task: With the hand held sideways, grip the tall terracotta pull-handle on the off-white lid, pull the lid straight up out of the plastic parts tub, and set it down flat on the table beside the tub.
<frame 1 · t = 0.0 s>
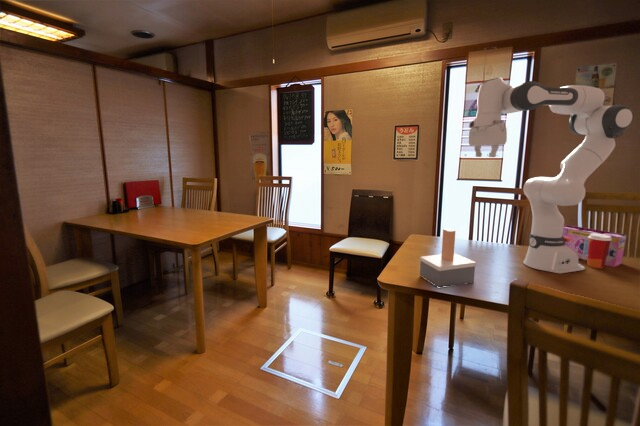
hand: (485, 157, 127), 48 cm above the table, tool pointing down, fingers open, 8 cm apart
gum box: (587, 258, 147), on the table
parts tub: (446, 279, 125), on the table
lid: (446, 266, 124), point 5 cm above the table, touching parts tub
paper cup: (595, 266, 137), on the table
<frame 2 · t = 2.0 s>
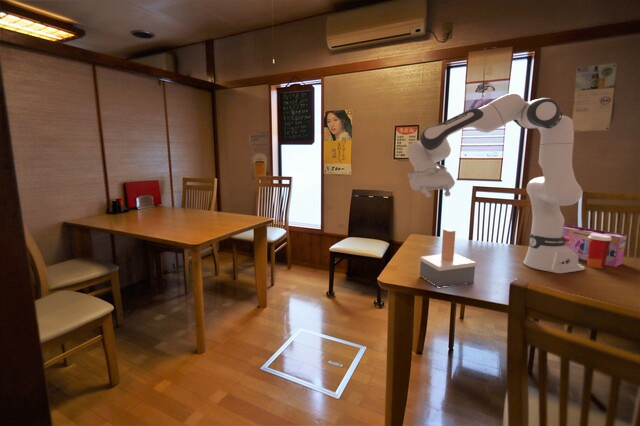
hand: (438, 196, 132), 32 cm above the table, tool tilted 45°, fingers open, 8 cm apart
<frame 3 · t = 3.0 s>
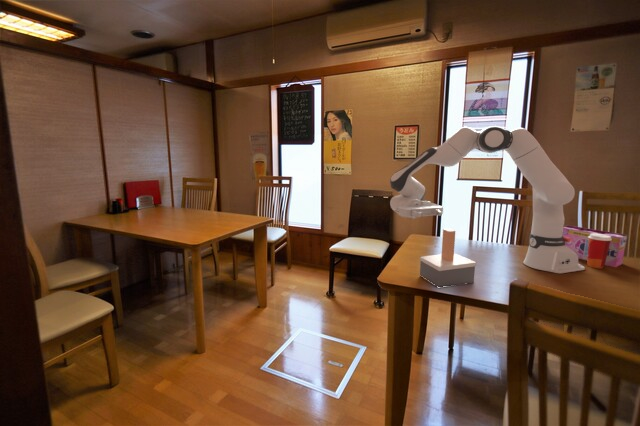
hand: (430, 214, 132), 24 cm above the table, tool horizontal, fingers open, 8 cm apart
nothing on the table moved.
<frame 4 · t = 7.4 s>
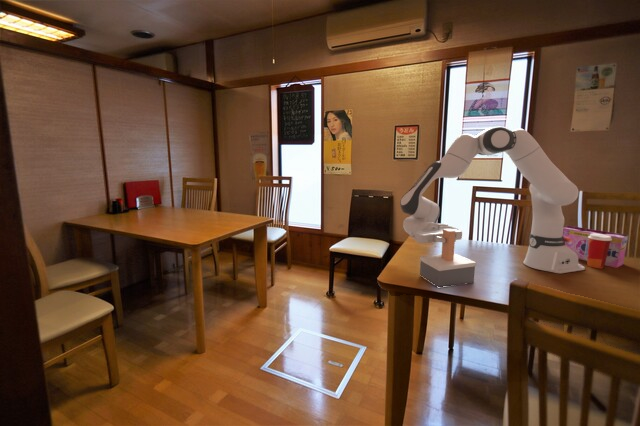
hand: (450, 240, 121), 17 cm above the table, tool horizontal, fingers closed on lid, 2 cm apart
lid: (446, 266, 124), point 5 cm above the table, touching gripper, parts tub
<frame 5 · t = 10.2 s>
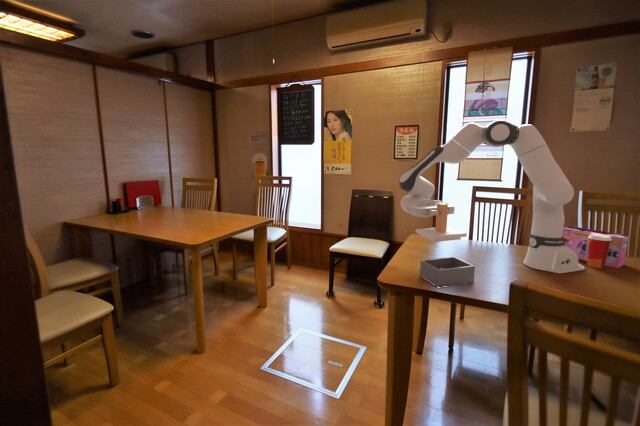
hand: (443, 213, 133), 25 cm above the table, tool horizontal, fingers closed on lid, 2 cm apart
lid: (440, 237, 136), point 14 cm above the table, touching gripper
when the fingers open (12 cm above the table, at t = 13.5 s): lid drops 2 cm, on the table.
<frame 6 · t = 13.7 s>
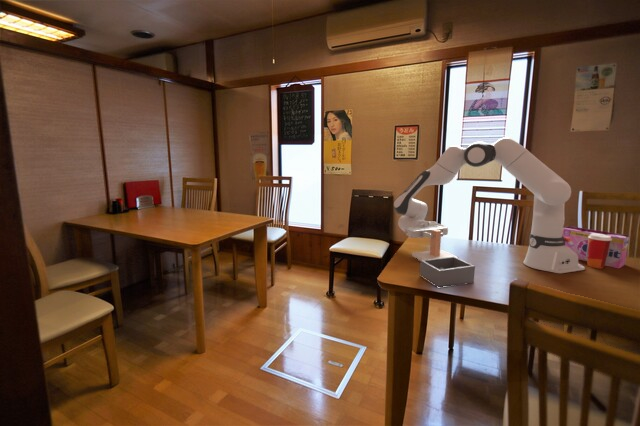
hand: (437, 235, 144), 12 cm above the table, tool horizontal, fingers open, 4 cm apart
lid: (434, 261, 147), on the table
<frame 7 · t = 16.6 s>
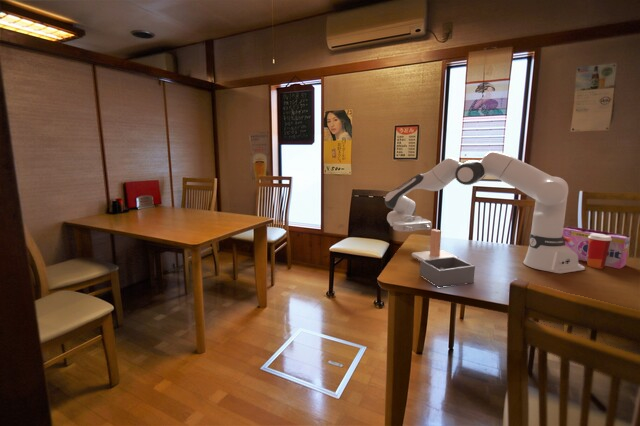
hand: (420, 228, 156), 13 cm above the table, tool horizontal, fingers open, 8 cm apart
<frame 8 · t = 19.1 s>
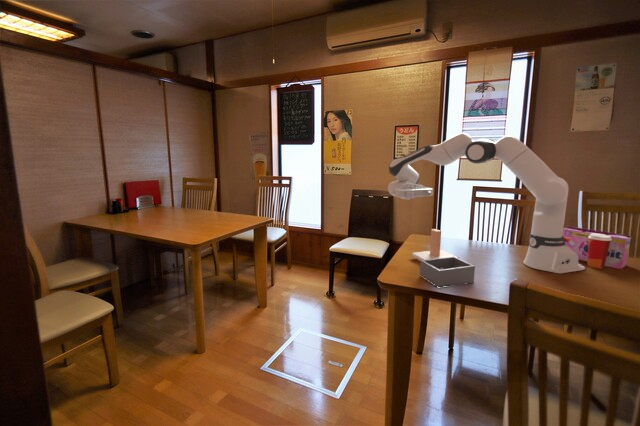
hand: (422, 194, 153), 30 cm above the table, tool horizontal, fingers open, 8 cm apart
at the end: lid inside the target area (0.0 cm from its centre), on the table; lid tilted 0°; lid touching table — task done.
